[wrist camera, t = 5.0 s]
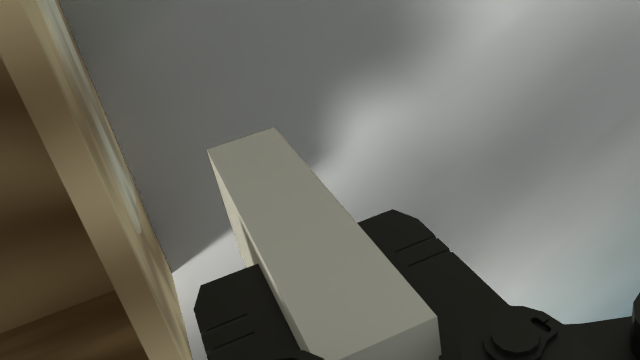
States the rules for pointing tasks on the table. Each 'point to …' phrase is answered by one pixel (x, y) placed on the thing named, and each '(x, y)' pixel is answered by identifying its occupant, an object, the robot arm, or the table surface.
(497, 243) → the table surface
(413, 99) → the table surface
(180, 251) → the table surface
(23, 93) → the open wooden box
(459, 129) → the table surface
